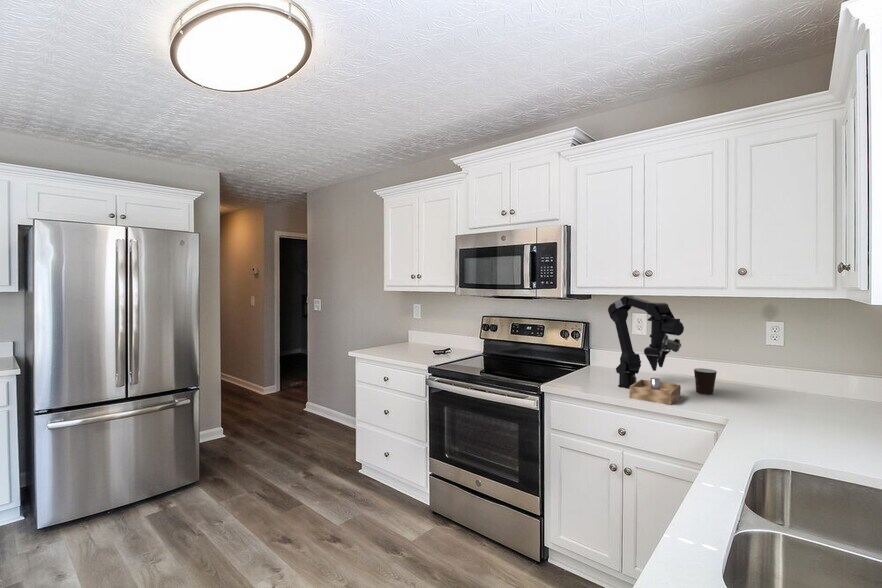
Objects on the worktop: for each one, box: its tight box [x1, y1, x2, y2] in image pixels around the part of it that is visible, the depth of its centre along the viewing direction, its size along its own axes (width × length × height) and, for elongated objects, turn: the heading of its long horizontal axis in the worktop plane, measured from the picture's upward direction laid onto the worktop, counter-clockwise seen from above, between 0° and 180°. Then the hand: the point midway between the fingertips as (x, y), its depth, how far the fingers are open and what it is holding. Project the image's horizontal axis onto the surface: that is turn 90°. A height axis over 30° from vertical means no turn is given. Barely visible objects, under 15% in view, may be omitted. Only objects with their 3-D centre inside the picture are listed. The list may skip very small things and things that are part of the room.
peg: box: [650, 377, 661, 390], centre depth 190 cm, size 4×4×8 cm
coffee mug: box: [693, 367, 718, 396], centre depth 198 cm, size 12×9×10 cm
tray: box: [628, 379, 682, 406], centre depth 190 cm, size 16×16×5 cm
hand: (657, 368), depth 191 cm, fingers open, 9 cm apart
